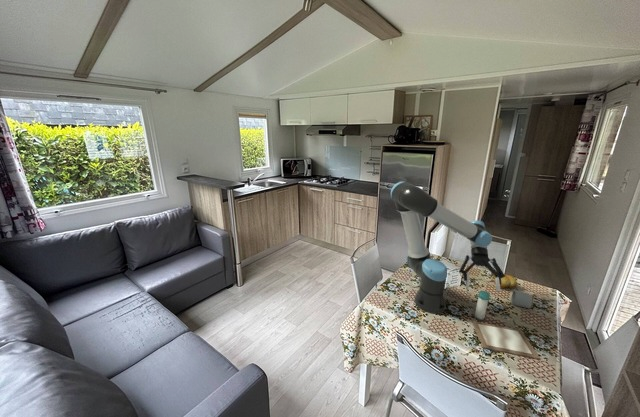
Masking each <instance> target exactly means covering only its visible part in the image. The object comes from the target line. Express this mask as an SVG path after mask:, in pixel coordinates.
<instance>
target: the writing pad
mask: <svg viewBox="0 0 640 417" xmlns="http://www.w3.org/2000/svg"><path fill="white" fill-rule="evenodd" d="M472 325H473V328H474V330H475V333H476V332H477V333H476V335H477V337H479V338H478V340H479V343H480V342H481V343H480V344H481V347H482V349H485V350H490V351H495V352H499V351H500V353H504V352H505V353H504V354H510V355H513V356H519V357H524V358H529V359H534V360H540V359H541V358H540V356H539V355H538V354H537V352H536V351H535V349H534V347H533V345H532V343H530V341H529V339H528V338H527V336H526V335H525V333H524V332H523V330H522V329H518V328H512V327H507V326H501V325H496V324H495V325H494V324H491V323H489V324H488V323H483V322H480V321H473V320H472Z"/></svg>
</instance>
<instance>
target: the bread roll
mask: <svg viewBox="0 0 640 417" xmlns="http://www.w3.org/2000/svg"><path fill="white" fill-rule="evenodd" d="M504 275H505V277H503V278H501V283H502V284H501V285H500V289H507V290H513V289H515V288H517V287H518V285H519V283H518V281H517V279H516V278H515V277H514V276H512V275H510V274H504ZM492 277H493V283H494V285H495V286H496V283H495V278H496V277H495V276H494V275H493V274H492Z"/></svg>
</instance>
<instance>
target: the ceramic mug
mask: <svg viewBox="0 0 640 417" xmlns="http://www.w3.org/2000/svg"><path fill="white" fill-rule="evenodd" d="M510 303H511V305H514V306H518V307H522V308H526V309H532V308H533V305H534V296H533V295H532V294H530V293H527V292H523V291H521V290H517V289H514V290H513V291H512V294H511V299H510Z"/></svg>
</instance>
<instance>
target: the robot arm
mask: <svg viewBox="0 0 640 417" xmlns="http://www.w3.org/2000/svg"><path fill="white" fill-rule="evenodd" d="M390 197H391V200H392V201H393V202H394V203H395V204H394V205H395V207H396V208H395V209H396V211H397V212H398V213H400V216H401V221H402V225H403V228H404V233H405V234H404V235H405V237H406V242H407V246H408V250H407V255H406V264H407V265H408V267H409V268H410V270H412V271H413V272H414V273H415V274H416V276H417V277H418V278H419V279H420V282H419V283H420V284H419V287H418V290H417V291H416V293H415V296H414V301H413V302H414V304H415V306H417V307H418V308H419V309H420V310H422V311H424V312H426V313H431V314H441V313H443V312H444V311H445V310H446V305H447V304H446V303H447V302H446V299H445V294H444V293H445V288H446V282H447V277H448V267H447V266H446V265H445V264H444V262H442V261H440V260H438V259H434V258H431V252H430V249H429V248H428V247H426V244H425V243H426V242H425V238H424V234H423V230H422V225H421V219H420V215H421V216H423V217H425V218H428V217H429V218H430V219H432V220H434V221H436V222H438V223H439V224H441V225H443V226H445V227H447V228H448V229H449V230H450V231H451V232H453V233H456V234H458V235H460V236H463V237H464V238H466V239H467V240H469V241H470V242H469V243H470V253H471V256H470V255H468V254H467V255H466V256H464V261H463V263H462V265H461V267H459V268H460V269H459V271H458V272H459V273H460V274H462V276H463V281H465V287H466V288H469V287H470V274H469V273H468V272H469V271H470V270H471V269H472V268H473V267H474V266H477V267H485V268H486V269H487V270H488V271H490V272H491V274H492V276H493V275H494V276H495V277H496V278H495V283H496V285H495V290H496V292H497V293H499V292H501V291H502V290H501V288H500V285H501V284H502V283H501V278H503V277H505V275H506V274H505V273H504V271H503V270H502V268H501V267H500V265H499V264H498V263H497V260H496V258H495V257H493V258H489V252H488V251H489V250H488V246H489V245H490V244H491V243H492V241H493V235H492V234H491V233H490V232H488V231H487V230H486V226H485V222H483V221H482V220H472V221H470V220H467V219H466V218H464V217H462V216H461V215H459V214H457V213H455V212H453V211H452V210H451V209H449V208H447V207H446V206H444V205H442V204H440V203H439V202H438V199H436V198H434V197H433V196H432V195H430V194H429V193H428V192H426V191H425V190H424V189H423V188H420V186H416V185H415V184H411V183H410V182H408V181H399V182H397V183H395V184H394V185H393V186H392V188H391V189H390ZM469 261H471V264H470V265H469V266H468V267H467V268H466V266H467V264H468V262H469ZM489 262H490V263H489ZM465 268H466V269H465ZM495 283H494V284H495Z"/></svg>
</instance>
